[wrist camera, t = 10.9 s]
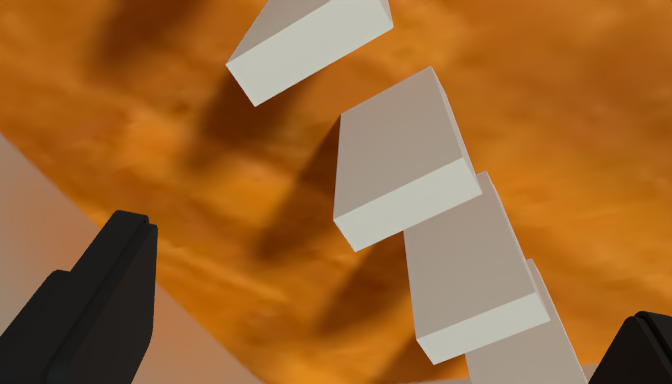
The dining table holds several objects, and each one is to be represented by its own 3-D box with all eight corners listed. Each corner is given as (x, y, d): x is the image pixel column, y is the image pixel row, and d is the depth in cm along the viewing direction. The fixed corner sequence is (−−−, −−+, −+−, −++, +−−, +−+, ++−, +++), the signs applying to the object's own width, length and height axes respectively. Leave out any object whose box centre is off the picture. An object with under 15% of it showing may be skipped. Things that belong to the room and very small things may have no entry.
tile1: (541, 277, 34) (604, 420, 25) (462, 309, 35) (496, 455, 27) (531, 257, 33) (592, 398, 24) (451, 291, 35) (482, 434, 26)
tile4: (382, -28, 26) (393, 27, 17) (288, 28, 27) (255, 106, 19) (364, -62, 25) (367, -22, 17) (269, -2, 27) (225, 64, 18)
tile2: (497, 193, 31) (550, 320, 22) (414, 231, 33) (433, 365, 24) (485, 170, 31) (535, 291, 22) (400, 209, 32) (415, 339, 23)
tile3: (445, 92, 28) (482, 193, 20) (356, 139, 30) (355, 252, 21) (430, 65, 28) (462, 156, 19) (341, 113, 29) (332, 219, 21)
